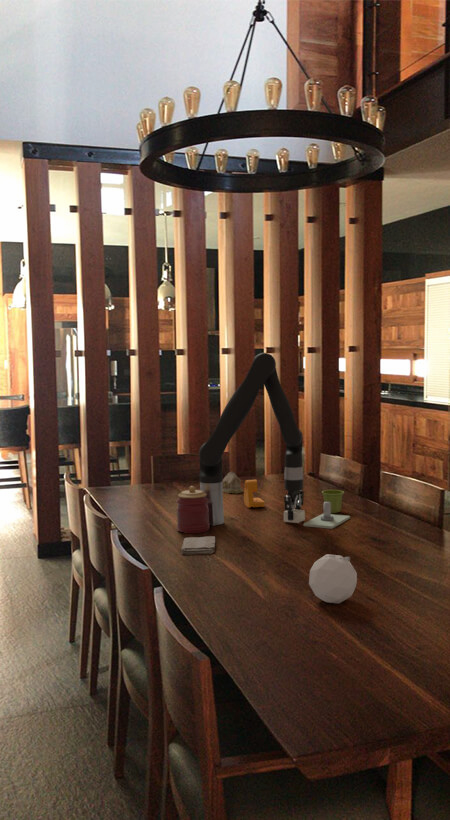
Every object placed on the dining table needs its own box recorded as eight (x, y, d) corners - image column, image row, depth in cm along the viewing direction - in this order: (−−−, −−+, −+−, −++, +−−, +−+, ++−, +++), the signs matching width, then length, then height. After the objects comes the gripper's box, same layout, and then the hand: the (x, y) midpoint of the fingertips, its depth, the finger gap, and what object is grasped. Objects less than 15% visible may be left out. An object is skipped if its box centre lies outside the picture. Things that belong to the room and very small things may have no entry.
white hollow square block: (298, 523, 306) (298, 513, 306) (283, 521, 310) (283, 511, 309) (304, 519, 312) (304, 510, 312) (290, 518, 315) (290, 508, 315)
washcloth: (181, 556, 266) (180, 547, 266) (183, 543, 284) (182, 535, 284) (215, 555, 266) (215, 546, 266) (215, 542, 284) (215, 534, 284)
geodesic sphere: (364, 572, 220) (335, 536, 219) (375, 587, 206) (344, 548, 205) (325, 603, 220) (296, 567, 219) (334, 620, 207) (302, 582, 206)
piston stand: (331, 528, 298) (331, 508, 297) (303, 526, 304) (303, 506, 303) (350, 518, 315) (349, 499, 314) (322, 515, 321) (322, 496, 320)
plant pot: (343, 509, 332) (343, 489, 332) (344, 514, 323) (344, 493, 322) (321, 509, 333) (321, 489, 333) (322, 514, 324) (322, 494, 323)
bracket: (265, 508, 340) (264, 481, 339) (249, 509, 339) (248, 482, 338) (259, 503, 351) (258, 477, 350) (244, 504, 349) (243, 478, 348)
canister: (205, 534, 294) (204, 489, 293) (173, 533, 297) (171, 488, 296) (213, 526, 307) (211, 483, 306) (181, 526, 310) (180, 482, 308)
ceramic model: (217, 490, 387) (216, 470, 386) (237, 488, 391) (237, 468, 390) (227, 494, 374) (227, 474, 373) (248, 492, 378) (248, 472, 377)
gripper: (294, 481, 301) (295, 523, 303) (309, 475, 314) (310, 515, 315) (277, 479, 305) (278, 521, 306) (292, 474, 317) (293, 514, 319)
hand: (294, 518), depth 311 cm, fingers closed on white hollow square block, 6 cm apart
